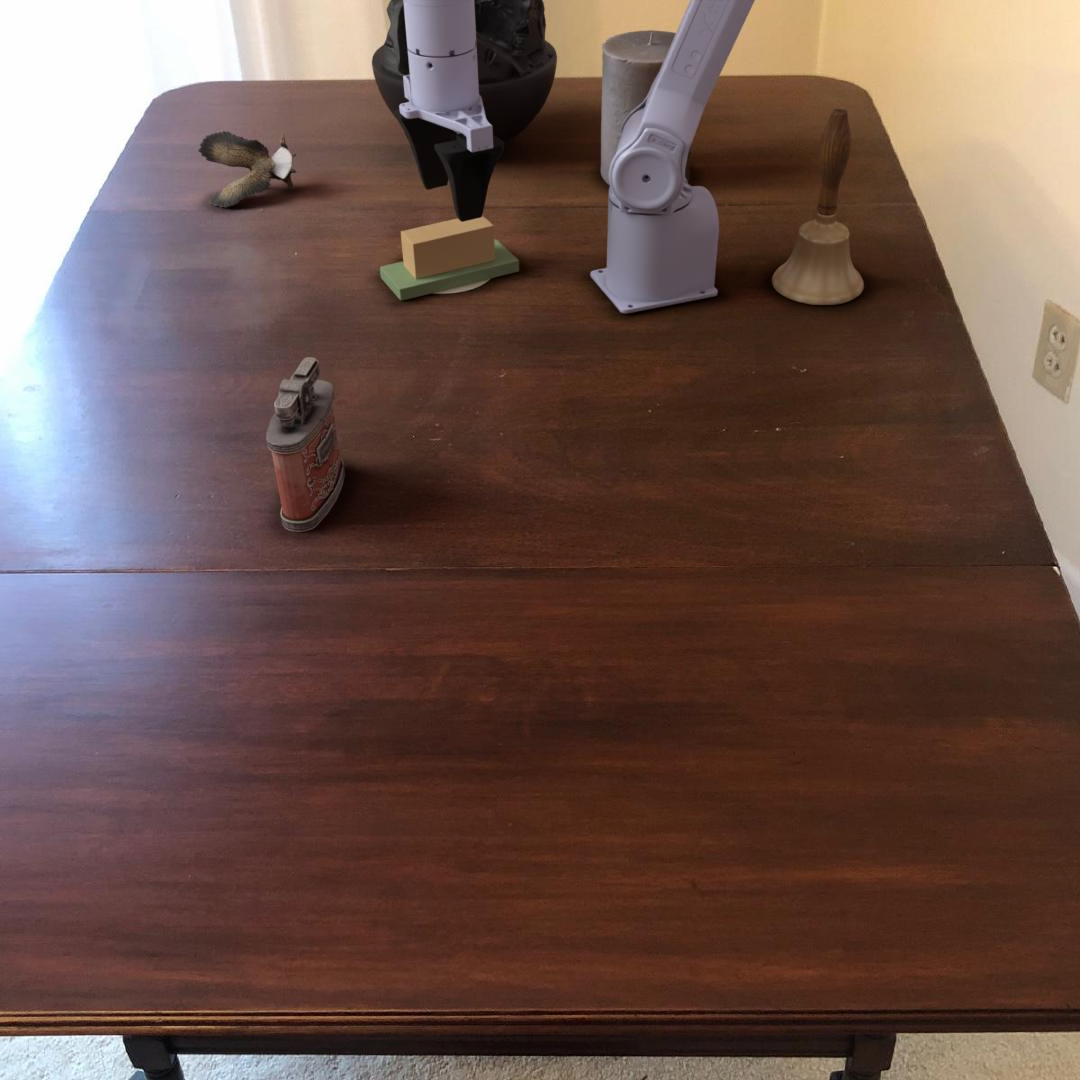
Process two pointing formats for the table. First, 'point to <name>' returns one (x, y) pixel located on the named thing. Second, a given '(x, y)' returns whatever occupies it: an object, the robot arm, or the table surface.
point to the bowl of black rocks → (485, 62)
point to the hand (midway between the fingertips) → (452, 201)
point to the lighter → (305, 448)
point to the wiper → (447, 258)
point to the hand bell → (824, 233)
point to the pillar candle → (628, 83)
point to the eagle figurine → (246, 165)
